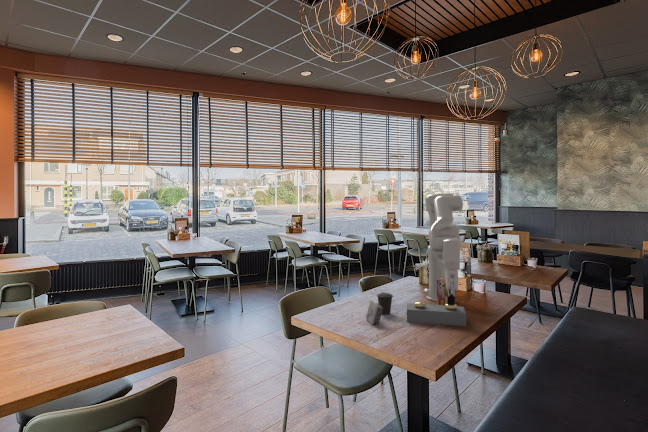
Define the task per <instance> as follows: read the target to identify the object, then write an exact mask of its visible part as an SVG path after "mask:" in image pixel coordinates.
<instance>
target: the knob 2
mask: <svg viewBox="0 0 648 432" xmlns="http://www.w3.org/2000/svg"><path fill="white" fill-rule="evenodd" d="M457 306H458V305H457V303H455V305H448V304H447V303H446V304H445V308H446V309H448V310H456V309H457Z"/></svg>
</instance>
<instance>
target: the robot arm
mask: <svg viewBox="0 0 648 432" xmlns="http://www.w3.org/2000/svg"><path fill="white" fill-rule="evenodd" d="M424 199H425V200H424V202H425V208H426V211H427V214H428V217H429V231H428V241H429V242H428V243H429V245H428V246H427V250H426V252H427V257H428V260H427V261H428V288H424V289H423V293H425V294H426V295H425V298H426V299H427V300H428V301H433V302H437V279H439V278H444V279H445V282H446V288H447V290H448V295H447V304H448V305H455V304H456V296H455V295H456V294H455V293H456V292H459V272H458V271H459V270H461V267H460V266H461V246H462V245H461V240H460V239H461V238H460V230H459V229H460V228H459V227H458V225H456V224H453V223H454V216H453V215H454V214H453V212H462V210H463V208H464V201H463V199H462V197H461V196H460V194H458V193H429V194H428V195H426V196H425V198H424ZM455 291H456V292H455Z"/></svg>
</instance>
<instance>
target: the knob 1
mask: <svg viewBox="0 0 648 432" xmlns="http://www.w3.org/2000/svg"><path fill="white" fill-rule="evenodd" d="M414 304H415V307H416V308H425V304H426V302H425V301H422V300H417V301H414Z"/></svg>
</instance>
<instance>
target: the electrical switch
mask: <svg viewBox="0 0 648 432" xmlns="http://www.w3.org/2000/svg"><path fill="white" fill-rule="evenodd" d="M382 311H383V308H382V307H381V306H380V305H379V304H378V303H377V302H375V301H374V300H370V302H369V305H368V308H367V311H366V316H365V320H367V321H368V322H369V324H370V325H372V326H373V325H374V324H375V325H376V324H377V325H379V324H380V322H381V318H382Z"/></svg>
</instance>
